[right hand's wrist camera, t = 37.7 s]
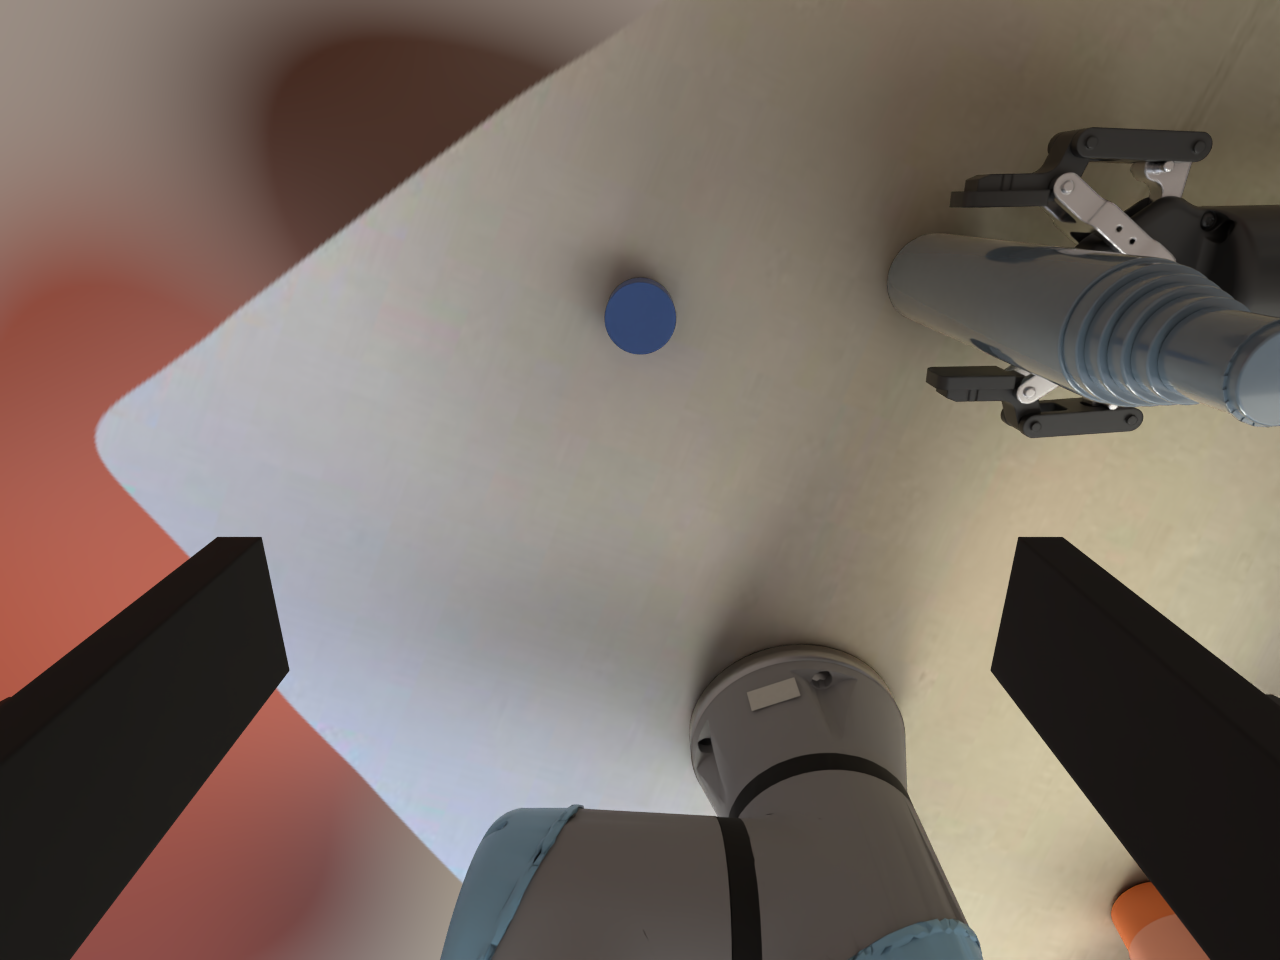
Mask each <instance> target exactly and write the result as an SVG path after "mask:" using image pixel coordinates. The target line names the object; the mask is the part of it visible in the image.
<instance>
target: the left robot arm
mask: <svg viewBox="0 0 1280 960" xmlns="http://www.w3.org/2000/svg"><path fill="white" fill-rule="evenodd" d="M1211 148H1212V138H1211V136H1210V135H1209V134H1208V133H1206V132H1194V131H1170V130H1146V129H1123V128H1099V127H1092V128H1086V129H1079V130H1073V131H1067V132H1061V133H1058V134H1056V135H1055V136H1054V137H1053V138H1052V139H1051V140H1050V142H1049V144H1048V156H1047V158H1046V160H1045V162H1044V164H1043V165H1042V167H1041V168H1040V169H1039V170H1037V171H1036V172H1034V173H1030V174H988V175H977V176H974V177H972V178H970V179H967V180H966V182H965V189H964V192H951V199H950V207H961V208H970V207H1021V206H1039V207H1040V208H1041V209H1042V210H1043V211H1044V212H1045V213H1047V214H1048V215H1049V216H1050V217H1051V218H1052V219H1053V224H1054V225H1055V226H1056V227H1057V228H1058V229H1059V230H1060V231H1061V232H1062V233H1063V234H1064V235H1066V236H1067V237H1068V238H1069V239H1070V240H1071V241H1072V242H1073V243H1074V244H1075V245H1077V246H1076V247H1075V248H1079V249H1088V250H1096V251H1105V252H1114V253H1123V254H1132V255H1141V256H1150V257H1158V258H1165V259H1169V260H1172V261H1175V262H1177V263H1179V264H1181V265H1185V266H1188V267H1191V268H1193V269H1195V270H1197V271H1199V272H1200V273H1202V274H1203V275H1204V276H1206V277H1207V278H1208V279H1209V280H1211V281H1212V282H1214V283H1215V284H1216V285H1218V286H1219V287H1220V288H1221V289H1222V290H1223V291H1225V292H1227V293H1228V294H1229V295H1231V296H1232V297H1233V298H1234V299H1235V300H1237V301H1239V302H1241V303H1242V304H1244V305H1245V306H1246V307H1247V308H1248V309H1249V310H1250V311H1251V312H1253V313H1258V314H1264V315H1269V316H1274V317H1280V205H1252V206H1202V207H1197V206H1194V205H1192V204H1190V203H1188V202H1187V201H1186V200H1184V199H1183V198H1181V197H1182V194H1183V191H1184V187H1185V184H1186V180H1187V177H1188V174H1189V170H1190V167H1191V163H1192V162H1198V161H1200V160H1202V159H1204V158H1205V157H1206V156H1207V155H1208V154H1209V152H1210V150H1211ZM1088 162H1110V163H1133V164H1132V166H1131V167H1130V171H1131V173H1132V174H1133V177H1134V178H1135V179H1136V180H1137V181H1141V182H1144V183H1146V184H1147V185H1148V187H1149V190H1150V195H1149V197H1148V198H1145V199H1143V200H1141V201H1139V202H1137V203H1136V204H1134V205H1133V206H1131V207H1130V208H1129V209H1127V210H1126V211H1124V212H1123V211H1122V210H1121V209H1120V208H1119V207H1118V206H1117V205H1116V204H1114V203H1112V202H1110V201H1108V200H1105V199H1103V198H1102V197H1101V196H1100V195H1099V194H1097V193H1096V192H1095V191H1094V190H1093V189H1092V188H1091V187H1090V186H1089V185H1088V184H1087V183H1086V182H1085V181H1084V180H1083V179H1081V176H1082V174H1083V172H1084V170H1085V168H1086V166H1087V164H1088ZM926 382H927V383H928V384H930V385H932V386H933V387H935V388H936V391H937V392H938V393H940V394H941V395H943V396H945V397H946V398H948V399H951V400H953V401H956V402H962V401H1002V404H1003V409H1002V412H1001V419H1002V421H1003V422H1005V423H1006V424H1008V425H1009V426H1013V427H1014V428H1016V429H1018V430H1019V431H1020V432H1021V433H1023V434H1024V435H1026V436H1027V437H1030V438H1040V437H1054V436H1068V435H1082V434H1096V433H1111V432H1125V431H1132V430H1135V429H1136V428H1138V427H1139V426H1140V424H1141V423H1142V421H1143V414H1142V412H1141V411H1140V410H1139V409H1137V408H1134V407H1122V406H1115V405H1112V404H1106V403H1099V402H1096V401H1092V400H1090V399H1088V398H1085V397H1083V396H1082V397H1083V398H1070V399H1056V400H1042V401H1039V398H1041V397H1043V396H1044V395H1046V394H1047V393H1049V392H1050V391H1052V390H1053V389H1055V388H1056V387H1058V385H1056V384H1054V383H1052V382H1049V381H1047V380H1045V379H1043V378H1040V377H1038V376H1036V375H1034V374H1031V373H1029V372H1027V371H1025V370H1022V369H1020V368H1018V367H1016V366H1013V365H1010V366H1009V367H1008V368H1006V369H1005V370H1003V369H1001V368H999V367H997V366H964V367H930V368H928V369H927V377H926Z"/></svg>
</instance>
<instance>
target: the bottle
mask: <svg viewBox="0 0 1280 960" xmlns="http://www.w3.org/2000/svg"><path fill="white" fill-rule="evenodd" d="M887 288H888V294H889V298H890V300H891V303H892V304H893V306H894V307H895V309H896V310H897V311H898V312H899V313H900V314H901V315H903V316H904V317H906V318H908V319H910V320H912V321H915V322H917V323H919V324H921V325H924V326H926V327H928V328H930V329H933V330H935V331H937V332H939V333H942V334H944V335H946V336H948V337H951V338H953V339H955V340H957V341H960V342H962V343H964V344H966V345H968V346H971V347H973V348H975V349H977V350H980V351H982V352H984V353H986V354H989V355H991V356H993V357H995V358H998V359H1000V360H1002V361H1004V362H1007V363H1009V364H1011V365H1013V366H1016V367H1018V368H1020V369H1022V370H1025V371H1027V372H1029V373H1031V374H1034V375H1036V376H1038V377H1040V378H1043V379H1045V380H1047V381H1049V382H1052V383H1054V384H1056V385H1058V386H1061V387H1063V388H1065V389H1067V390H1070V391H1072V392H1074V393H1076V394H1079V395H1081V396H1083V397H1085V398H1088V399H1090V400H1092V401H1096V402H1099V403H1106V404H1112V405H1115V406H1122V407H1138V406H1158V405H1177V404H1179V405H1194V404H1199V403H1201V404H1204V405H1207V406H1209V407H1212V408H1215V409H1218V410H1220V411H1223V412H1226V413H1229V414H1231V415H1232V416H1234V417H1235V418H1236V419H1237V420H1239V421H1241V422H1244V423H1247V424H1249V425H1252V426H1260V427H1272V426H1280V317H1274V316H1269V315H1264V314H1258V313H1253V312H1251V311H1250V310H1249V309H1248V308H1247V307H1246V306H1245V305H1244V304H1242V303H1241V302H1239V301H1237V300H1235V299H1234V298H1233V297H1232V296H1231V295H1229V294H1228V293H1227V292H1225V291H1223V290H1222V289H1221V288H1220V287H1219V286H1218V285H1216V284H1215V283H1214V282H1212V281H1211V280H1209V279H1208V278H1207V277H1206V276H1204V275H1203V274H1202V273H1200V272H1199V271H1197V270H1195V269H1193V268H1191V267H1188V266H1185V265H1181V264H1179V263H1177V262H1175V261H1172V260H1169V259H1165V258H1158V257H1150V256H1141V255H1132V254H1123V253H1114V252H1105V251H1096V250H1088V249H1079V248H1070V247H1061V246H1052V245H1043V244H1034V243H1025V242H1016V241H1007V240H998V239H989V238H980V237H971V236H962V235H953V234H944V233H931V234H926V235H923V236H920V237H918V238H916V239H914V240H912V241H911V242H909V243H908V244H907V245H906V246H905V247H903V248H902V249H901V251H900V252H899V253H898V254H897V256H896V257H895V259H894V261H893V262H892V265H891V267H890V270H889V274H888V280H887Z"/></svg>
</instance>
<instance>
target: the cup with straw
mask: <svg viewBox="0 0 1280 960" xmlns="http://www.w3.org/2000/svg"><path fill="white" fill-rule="evenodd" d="M1111 917H1112V920H1113V923H1114V925H1115V927H1116V929H1117V931H1118V932H1119V934H1120V936H1121V938H1122V940H1123V942H1124V944H1125V945H1126V947H1127V949H1128V951H1129V957H1130V959H1131V960H1210V959H1209V958H1208V956H1207V955H1206V954H1205V952H1204V951H1203V950H1202V948H1201V947H1200V946H1199V944H1198V943H1197V942H1196V940H1195V939H1194V938H1193V937H1192V935H1191V934H1190V933H1189V931H1188V930H1187V929H1186V927H1185V926H1184V925H1183V923H1182V922H1181V921H1180V919H1179V918H1178V917H1177V915H1176V914H1175V913H1174V911H1173V910H1172V909H1171V908H1170V906H1169V905H1168V904H1167V902H1166V901H1165V900H1164V898H1163V897H1162V896H1161V894H1160V893H1159V892H1158V890H1157V889H1156V888H1155V886H1154V885H1153V884H1152V883H1151V882H1146V883H1142V884H1139V885H1136V886H1134V887H1132V888H1130V889H1128V890H1127V891H1125V892H1124V893H1123V894H1122V895H1120V896H1119V897H1118V899H1117V900H1116V901H1115V903H1114V905H1113V907H1112V911H1111Z"/></svg>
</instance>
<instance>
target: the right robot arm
mask: <svg viewBox="0 0 1280 960" xmlns="http://www.w3.org/2000/svg"><path fill="white" fill-rule="evenodd" d="M288 672H289V666H288V661H287V656H286V652H285V647H284V642H283V637H282V632H281V628H280V623H279V618H278V613H277V608H276V604H275V599H274V594H273V589H272V585H271V580H270V575H269V570H268V565H267V561H266V556H265V551H264V546H263V542H262V537H217V538H216V539H214V540H213V541H212V542H210V543H209V544H208V545H207V546H205V547H204V548H203V549H201V550H200V551H199V552H198V553H196V554H195V555H194V556H192V557H191V558H190V559H189V560H187V561H186V562H185V563H183V564H182V565H181V566H180V567H178V568H177V569H176V570H174V571H173V572H172V573H171V574H169V575H168V576H167V577H165V578H164V579H163V580H162V581H160V582H159V583H158V584H156V585H155V586H154V587H153V588H151V589H150V590H149V591H147V592H146V593H145V594H144V595H142V596H141V597H140V598H138V599H137V600H136V601H135V602H133V603H132V604H131V605H129V606H128V607H127V608H125V609H124V610H123V611H122V612H120V613H119V614H118V615H116V616H115V617H114V618H113V619H111V620H110V621H109V622H108V623H106V624H105V625H104V626H102V627H101V628H100V629H98V630H97V631H96V632H95V633H93V634H92V635H91V636H89V637H88V638H87V639H86V640H84V641H83V642H82V643H80V644H79V645H78V646H77V647H75V648H74V649H73V650H71V651H70V652H69V653H68V654H66V655H65V656H64V657H62V658H61V659H60V660H59V661H57V662H56V663H55V664H53V665H52V666H51V667H50V668H48V669H47V670H46V671H44V672H43V673H42V674H41V675H39V676H38V677H37V678H35V679H34V680H33V681H32V682H30V683H29V684H28V685H26V686H25V687H24V688H23V689H21V690H20V691H19V692H17V693H16V694H15V695H14V696H12V697H8V698H6V699H4V700H2V701H0V960H70V959H71V958H72V956H73V955H74V954H75V952H76V951H77V950H78V948H79V947H80V946H81V944H82V943H83V942H84V940H85V939H86V938H87V936H88V935H89V934H90V933H91V931H92V930H93V928H94V927H95V926H96V925H97V923H98V922H99V921H100V919H101V918H102V917H103V915H104V914H105V913H106V911H107V910H108V909H109V908H110V906H111V905H112V904H113V902H114V901H115V900H116V898H117V897H118V896H119V894H120V893H121V892H122V890H123V889H124V888H125V886H126V885H127V884H128V882H129V881H130V880H131V879H132V877H133V876H134V875H135V873H136V872H137V871H138V869H139V868H140V867H141V865H142V864H143V863H144V861H145V860H146V859H147V857H148V856H149V855H150V854H151V852H152V851H153V850H154V848H155V847H156V846H157V844H158V843H159V842H160V840H161V839H162V838H163V836H164V835H165V834H166V832H167V831H168V830H169V828H170V827H171V826H172V825H173V823H174V822H175V820H176V819H177V818H178V817H179V815H180V814H181V813H182V811H183V810H184V809H185V807H186V806H187V805H188V803H189V802H190V801H191V799H192V798H193V797H194V796H195V794H196V793H197V792H198V790H199V789H200V788H201V786H202V785H203V784H204V782H205V781H206V780H207V778H208V777H209V776H210V774H211V773H212V772H213V771H214V769H215V768H216V767H217V765H218V764H219V763H220V761H221V760H222V759H223V757H224V756H225V755H226V753H227V752H228V751H229V749H230V748H231V747H232V746H233V744H234V743H235V742H236V740H237V739H238V738H239V736H240V735H241V734H242V732H243V731H244V730H245V728H246V727H247V726H248V724H249V723H250V722H251V720H252V719H253V718H254V716H255V715H256V714H257V713H258V711H259V710H260V709H261V707H262V706H263V705H264V703H265V702H266V701H267V699H268V698H269V697H270V695H271V694H272V693H273V692H274V690H275V689H276V688H277V686H278V685H279V684H280V682H281V681H282V680H283V678H284V677H285V676H286V674H287V673H288ZM991 672H992V673H993V674H994V676H995V677H996V678H997V680H998V681H999V682H1000V684H1001V685H1002V686H1003V688H1004V689H1005V690H1006V692H1007V693H1008V694H1009V695H1010V697H1011V698H1012V699H1013V701H1014V702H1015V703H1016V705H1017V706H1018V707H1019V709H1020V710H1021V711H1022V713H1023V714H1024V715H1025V717H1026V718H1027V719H1028V721H1029V722H1030V723H1031V724H1032V726H1033V727H1034V728H1035V730H1036V731H1037V732H1038V734H1039V735H1040V736H1041V738H1042V739H1043V740H1044V742H1045V743H1046V744H1047V746H1048V747H1049V748H1050V749H1051V751H1052V752H1053V753H1054V755H1055V756H1056V757H1057V759H1058V760H1059V761H1060V763H1061V764H1062V765H1063V767H1064V768H1065V769H1066V771H1067V772H1068V773H1069V775H1070V776H1071V777H1072V778H1073V780H1074V781H1075V782H1076V784H1077V785H1078V786H1079V788H1080V789H1081V790H1082V792H1083V793H1084V794H1085V796H1086V797H1087V798H1088V800H1089V801H1090V802H1091V803H1092V805H1093V806H1094V807H1095V809H1096V810H1097V811H1098V813H1099V814H1100V815H1101V817H1102V818H1103V819H1104V821H1105V822H1106V823H1107V825H1108V826H1109V827H1110V829H1111V830H1112V831H1113V832H1114V834H1115V835H1116V836H1117V838H1118V839H1119V840H1120V842H1121V843H1122V844H1123V846H1124V847H1125V848H1126V850H1127V851H1128V852H1129V854H1130V855H1131V856H1132V857H1133V859H1134V860H1135V861H1136V863H1137V864H1138V865H1139V867H1140V868H1141V869H1142V871H1143V872H1144V873H1145V875H1146V876H1147V877H1148V879H1149V880H1150V881H1151V883H1152V884H1153V885H1154V886H1155V888H1156V889H1157V890H1158V892H1159V893H1160V894H1161V896H1162V897H1163V898H1164V900H1165V901H1166V902H1167V904H1168V905H1169V906H1170V908H1171V909H1172V910H1173V911H1174V913H1175V914H1176V915H1177V917H1178V918H1179V919H1180V921H1181V922H1182V923H1183V925H1184V926H1185V927H1186V929H1187V930H1188V931H1189V933H1190V934H1191V935H1192V937H1193V938H1194V939H1195V940H1196V942H1197V943H1198V944H1199V946H1200V947H1201V948H1202V950H1203V951H1204V952H1205V954H1206V955H1207V956H1208V958H1209V959H1210V960H1280V698H1278V697H1276V696H1274V695H1272V694H1264V693H1263V692H1261V691H1260V690H1259V689H1257V688H1256V687H1255V686H1254V685H1252V684H1251V683H1250V682H1248V681H1247V680H1246V679H1245V678H1243V677H1242V676H1241V675H1239V674H1238V673H1237V672H1236V671H1234V670H1233V669H1232V668H1230V667H1229V666H1228V665H1227V664H1225V663H1224V662H1223V661H1221V660H1220V659H1219V658H1218V657H1216V656H1215V655H1214V654H1212V653H1211V652H1210V651H1209V650H1207V649H1206V648H1205V647H1203V646H1202V645H1201V644H1200V643H1198V642H1197V641H1196V640H1194V639H1193V638H1192V637H1191V636H1189V635H1188V634H1187V633H1185V632H1184V631H1183V630H1182V629H1180V628H1179V627H1178V626H1176V625H1175V624H1174V623H1173V622H1171V621H1170V620H1169V619H1167V618H1166V617H1165V616H1164V615H1162V614H1161V613H1160V612H1158V611H1157V610H1156V609H1155V608H1153V607H1152V606H1151V605H1149V604H1148V603H1147V602H1145V601H1144V600H1143V599H1142V598H1140V597H1139V596H1138V595H1136V594H1135V593H1134V592H1133V591H1131V590H1130V589H1129V588H1127V587H1126V586H1125V585H1124V584H1122V583H1121V582H1120V581H1118V580H1117V579H1116V578H1115V577H1113V576H1112V575H1111V574H1109V573H1108V572H1107V571H1106V570H1104V569H1103V568H1102V567H1100V566H1099V565H1098V564H1097V563H1095V562H1094V561H1093V560H1091V559H1090V558H1089V557H1088V556H1086V555H1085V554H1084V553H1082V552H1081V551H1080V550H1079V549H1077V548H1076V547H1075V546H1073V545H1072V544H1071V543H1070V542H1068V541H1067V540H1066V539H1064V538H1063V537H1018V542H1017V546H1016V551H1015V556H1014V561H1013V565H1012V570H1011V575H1010V580H1009V585H1008V589H1007V594H1006V599H1005V604H1004V608H1003V613H1002V618H1001V623H1000V628H999V632H998V637H997V642H996V647H995V652H994V656H993V661H992V666H991ZM689 737H690V748H691V759H692V765H693V769H694V772H695V775H696V777H697V779H698V781H699V783H700V785H701V787H702V789H703V790H704V792H705V794H706V796H707V798H708V799H709V801H710V803H711V805H712V807H713V808H714V810H715V812H716V814H717V816H718V817H716V816H702V815H684V814H666V813H648V812H630V811H612V810H594V809H584V807H583V806H582V805H571V806H570V807H569V808H520V809H515V810H512V811H510V812H507V813H506V814H504V815H503V816H501V817H500V818H498V819H497V820H496V821H495V822H494V823H493V824H492V826H491V827H490V828H489V829H488V831H487V832H486V834H485V836H484V837H483V839H482V841H481V843H480V844H479V846H478V848H477V850H476V853H475V855H474V857H473V859H472V861H471V864H470V866H469V869H468V871H467V874H466V877H465V879H464V882H463V885H462V888H461V890H460V893H459V896H458V899H457V902H456V905H455V909H454V912H453V915H452V918H451V922H450V925H449V929H448V932H447V936H446V940H445V943H444V947H443V951H442V955H441V959H440V960H983V957H982V952H981V948H980V943H979V941H978V938H977V936H976V934H975V933H974V931H973V930H972V929H971V928H970V927H969V926H968V923H967V921H966V919H965V917H964V915H963V913H962V910H961V908H960V906H959V904H958V902H957V900H956V897H955V895H954V893H953V891H952V889H951V887H950V884H949V882H948V880H947V878H946V876H945V874H944V871H943V869H942V867H941V865H940V863H939V861H938V858H937V856H936V854H935V852H934V850H933V848H932V845H931V843H930V841H929V839H928V837H927V835H926V832H925V830H924V828H923V826H922V824H921V822H920V819H919V817H918V815H917V813H916V811H915V809H914V807H913V804H912V802H911V800H910V798H909V795H908V793H907V773H906V745H905V727H904V723H903V719H902V716H901V713H900V711H899V708H898V706H897V704H896V702H895V701H894V699H893V697H892V695H891V693H890V691H889V689H888V687H887V686H886V684H885V682H884V681H883V680H882V679H881V677H880V676H879V675H878V674H877V673H876V672H875V671H874V670H873V669H872V668H871V667H869V666H868V665H867V664H865V663H864V662H862V661H861V660H859V659H857V658H856V657H854V656H851V655H849V654H847V653H845V652H842V651H839V650H836V649H832V648H828V647H823V646H817V645H786V646H779V647H774V648H770V649H766V650H762V651H759V652H757V653H754V654H751V655H749V656H747V657H745V658H743V659H741V660H739V661H737V662H735V663H734V664H732V665H731V666H729V667H728V668H726V669H725V670H724V671H723V672H721V673H720V674H719V675H718V676H717V677H716V678H715V679H714V680H713V681H712V682H711V683H710V684H709V685H708V686H707V687H706V689H705V690H704V692H703V693H702V695H701V696H700V698H699V700H698V702H697V703H696V706H695V708H694V711H693V714H692V718H691V722H690V733H689Z"/></svg>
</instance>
